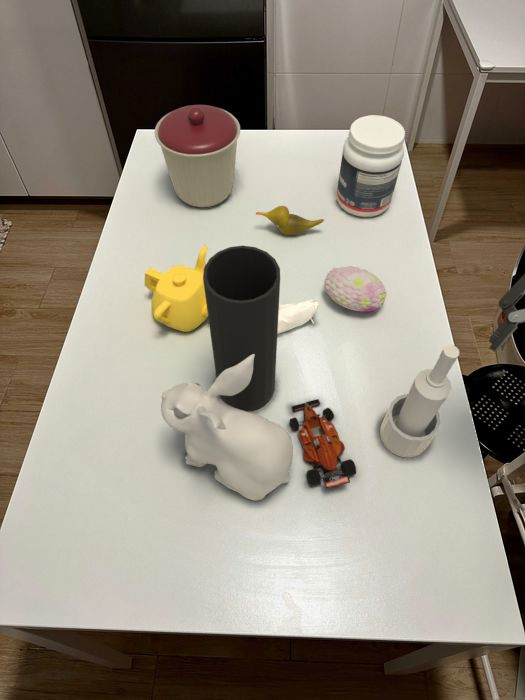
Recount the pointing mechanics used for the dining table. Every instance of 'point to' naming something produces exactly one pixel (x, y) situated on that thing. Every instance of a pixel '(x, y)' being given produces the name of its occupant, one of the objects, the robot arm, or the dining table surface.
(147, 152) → the dining table surface
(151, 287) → the teapot
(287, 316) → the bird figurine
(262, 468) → the rabbit
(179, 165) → the canister
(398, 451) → the stand
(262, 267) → the vase
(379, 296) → the decorative item
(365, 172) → the supplement tub
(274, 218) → the olive yellow toy bird
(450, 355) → the bottle
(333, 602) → the dining table surface
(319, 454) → the toy car
